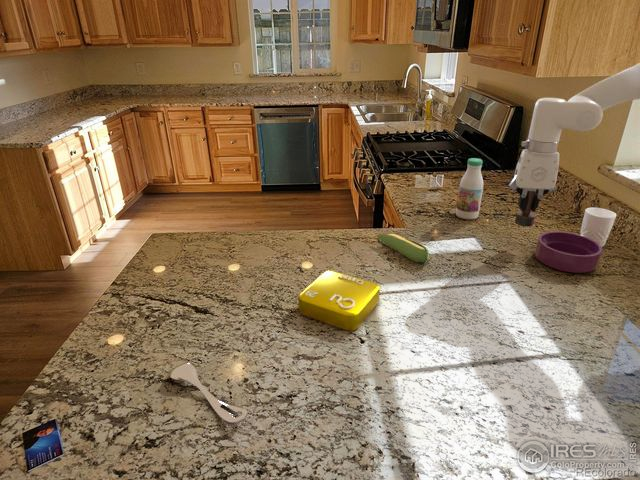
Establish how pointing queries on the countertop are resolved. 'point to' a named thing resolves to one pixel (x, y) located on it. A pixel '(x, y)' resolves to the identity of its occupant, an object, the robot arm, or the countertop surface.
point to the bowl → (568, 251)
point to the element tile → (339, 300)
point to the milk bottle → (470, 191)
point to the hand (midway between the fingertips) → (527, 209)
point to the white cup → (597, 224)
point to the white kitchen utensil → (207, 392)
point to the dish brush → (526, 211)
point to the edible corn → (405, 247)
